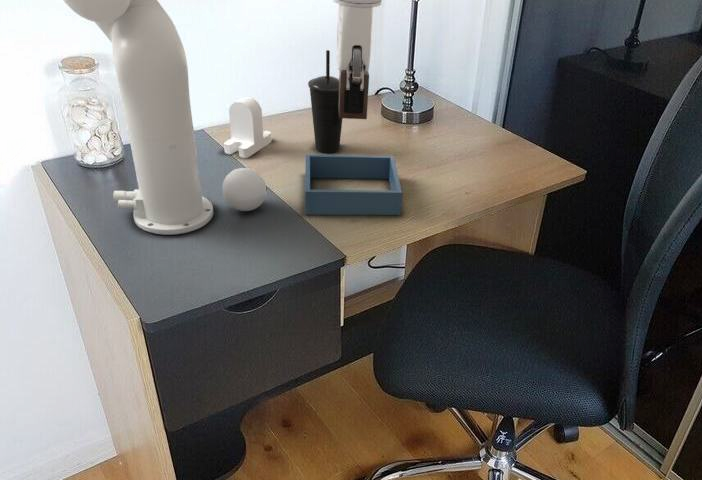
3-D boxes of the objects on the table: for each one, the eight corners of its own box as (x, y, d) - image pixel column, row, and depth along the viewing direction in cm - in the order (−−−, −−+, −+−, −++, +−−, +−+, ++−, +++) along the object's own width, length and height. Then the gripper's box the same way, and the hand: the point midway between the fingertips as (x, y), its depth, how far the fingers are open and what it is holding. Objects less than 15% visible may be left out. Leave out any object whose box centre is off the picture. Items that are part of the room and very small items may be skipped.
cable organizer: (223, 152, 130) (218, 104, 124) (250, 135, 138) (247, 89, 132) (246, 158, 129) (242, 109, 123) (272, 140, 136) (270, 94, 130)
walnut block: (339, 118, 109) (340, 73, 104) (338, 108, 112) (339, 64, 108) (366, 119, 109) (369, 75, 105) (364, 109, 113) (367, 66, 109)
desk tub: (305, 214, 113) (305, 191, 110) (306, 176, 125) (305, 154, 122) (400, 215, 115) (402, 192, 113) (392, 177, 127) (393, 156, 124)
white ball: (274, 214, 112) (272, 175, 108) (232, 222, 109) (228, 183, 105) (254, 188, 119) (252, 151, 115) (214, 195, 116) (209, 157, 111)
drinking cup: (348, 142, 138) (351, 47, 127) (342, 158, 132) (344, 58, 120) (313, 138, 139) (312, 42, 127) (305, 153, 132) (303, 54, 121)
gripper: (331, -22, 106) (329, 88, 116) (334, 3, 92) (331, 125, 103) (377, -19, 107) (371, 90, 117) (387, 7, 93) (378, 127, 104)
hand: (352, 105), depth 110 cm, fingers closed on walnut block, 4 cm apart
